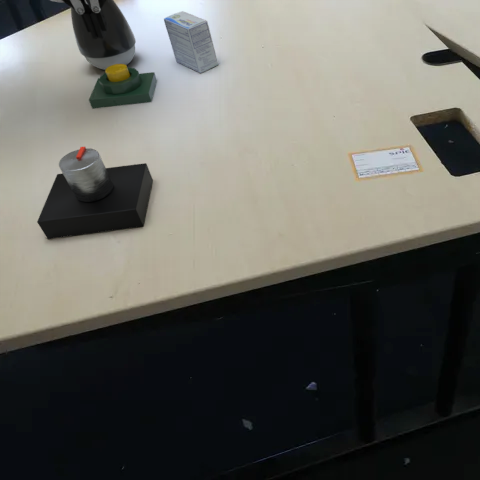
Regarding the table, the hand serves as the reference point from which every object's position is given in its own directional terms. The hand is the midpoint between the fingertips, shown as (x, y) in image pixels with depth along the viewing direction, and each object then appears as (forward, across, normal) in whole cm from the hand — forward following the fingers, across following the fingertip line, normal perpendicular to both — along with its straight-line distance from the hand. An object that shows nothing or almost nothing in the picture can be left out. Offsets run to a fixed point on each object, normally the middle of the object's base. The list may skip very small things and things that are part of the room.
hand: (100, 35), depth 87 cm
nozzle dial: (+8, -3, +32) cm, 33 cm away
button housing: (+11, -1, 0) cm, 11 cm away
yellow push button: (+8, -1, 0) cm, 8 cm away
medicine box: (+11, -13, -9) cm, 19 cm away
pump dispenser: (+11, +3, -13) cm, 17 cm away
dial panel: (+11, -3, +32) cm, 34 cm away
